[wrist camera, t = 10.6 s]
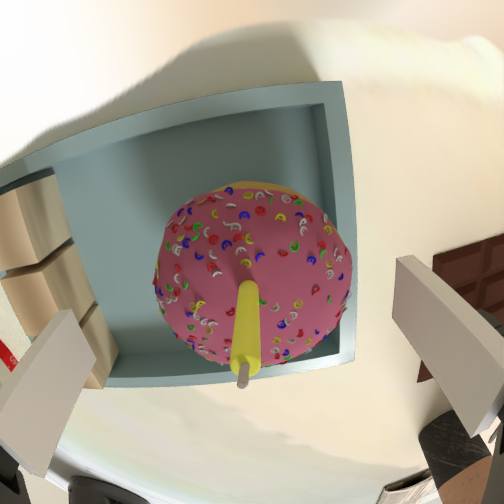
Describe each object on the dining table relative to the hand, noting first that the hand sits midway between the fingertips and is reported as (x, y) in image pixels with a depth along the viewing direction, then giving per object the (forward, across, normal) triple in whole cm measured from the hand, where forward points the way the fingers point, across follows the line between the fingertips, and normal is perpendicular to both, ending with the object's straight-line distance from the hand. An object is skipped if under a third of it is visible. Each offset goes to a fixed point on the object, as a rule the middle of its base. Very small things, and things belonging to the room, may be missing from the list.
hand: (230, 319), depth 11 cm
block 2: (+7, -12, 0) cm, 13 cm away
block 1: (+7, -12, +5) cm, 14 cm away
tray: (+7, -5, 0) cm, 9 cm away
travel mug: (+7, +21, -29) cm, 37 cm away
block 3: (+7, -12, -4) cm, 14 cm away
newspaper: (+8, +24, -64) cm, 69 cm away
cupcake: (+7, +1, 0) cm, 7 cm away
